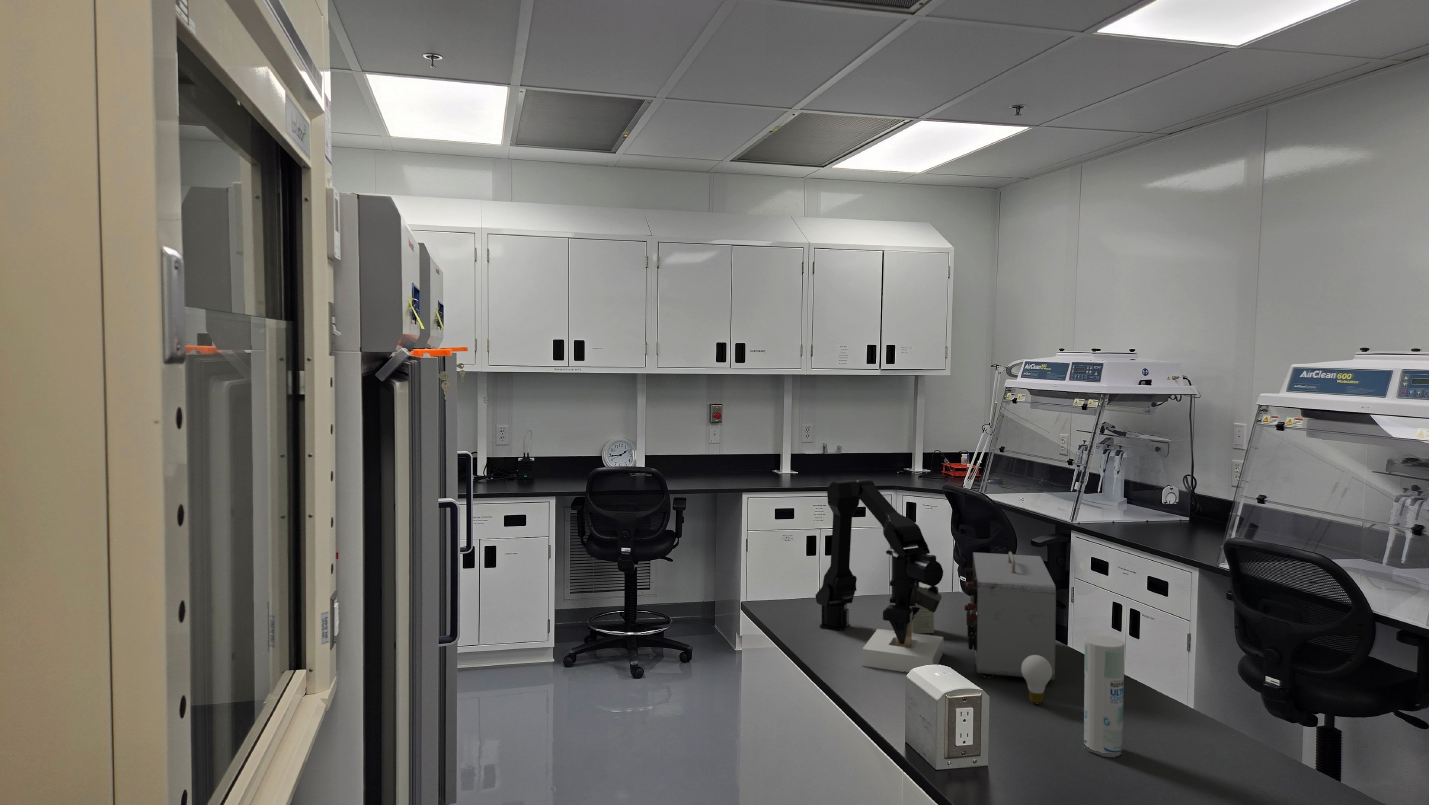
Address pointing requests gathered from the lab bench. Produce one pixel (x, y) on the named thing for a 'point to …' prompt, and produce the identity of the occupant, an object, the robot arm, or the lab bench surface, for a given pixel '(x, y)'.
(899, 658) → the socket block
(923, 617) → the skincare box
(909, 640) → the wooden peg
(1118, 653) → the spray can
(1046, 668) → the light bulb
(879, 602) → the lab bench surface
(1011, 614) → the vintage electronic device
